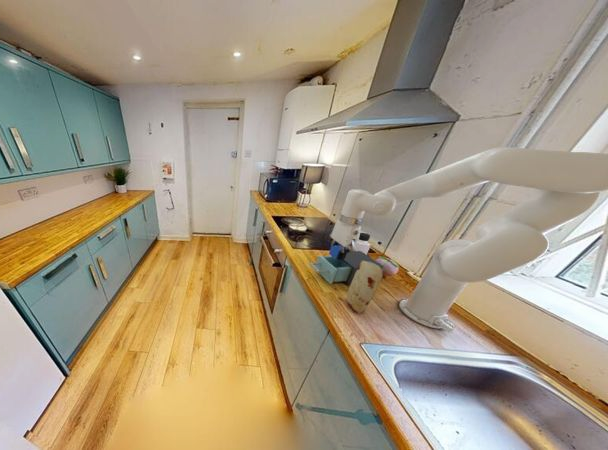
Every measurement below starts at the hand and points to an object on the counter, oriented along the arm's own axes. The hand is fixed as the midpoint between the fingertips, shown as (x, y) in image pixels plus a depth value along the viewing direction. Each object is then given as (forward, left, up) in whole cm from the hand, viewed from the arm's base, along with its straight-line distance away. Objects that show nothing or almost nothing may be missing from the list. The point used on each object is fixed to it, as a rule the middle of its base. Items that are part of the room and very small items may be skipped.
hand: (336, 255), depth 90 cm
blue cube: (0, 0, 0) cm, 0 cm away
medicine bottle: (+20, -32, -12) cm, 40 cm away
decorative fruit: (-1, -27, -12) cm, 30 cm away
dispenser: (0, -11, -12) cm, 16 cm away
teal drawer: (0, 0, -11) cm, 11 cm away
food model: (-18, +3, -12) cm, 22 cm away
